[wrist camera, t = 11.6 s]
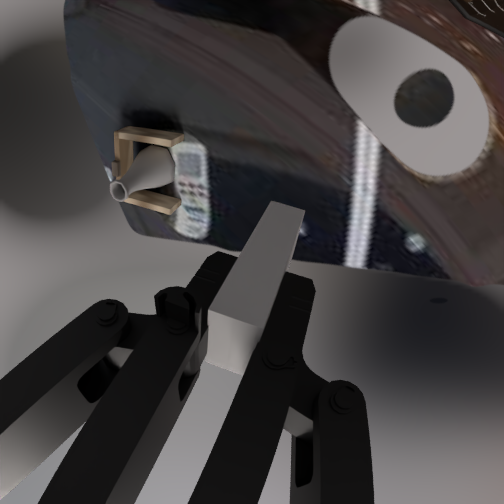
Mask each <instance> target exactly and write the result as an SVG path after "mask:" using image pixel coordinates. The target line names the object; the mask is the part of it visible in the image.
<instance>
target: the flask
mask: <svg viewBox="0 0 504 504" xmlns="http://www.w3.org/2000/svg"><path fill="white" fill-rule="evenodd" d="M174 172H175V164H174V162H173V160H172V158H171V156H170V154H169V152H168V149H166V148H162V147H158V146H155V145H151V146H149V147H147V148H145V149H143V150H142V151H140V152H139V153H138V155H137V157H136V158H135V160H134V162H133V163H132V165H131V166H130V168H129V169H128V171H127V172H126V174H125V175H124V176H123V177H122V178H121V179H119V180H115V181H113V182H111V183H110V193H111V195H112V196H113V198H114V199H115V200H117V201H120V202H122V201H124V200H126V199H128V195H130V194H131V193H132V192H135V191H137V190H143V189H148V188H157V187H162V186H164V185H166V184H169V183H171V182H173V181H174Z"/></svg>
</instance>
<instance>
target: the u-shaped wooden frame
mask: <svg viewBox="0 0 504 504" xmlns="http://www.w3.org/2000/svg"><path fill="white" fill-rule="evenodd" d="M183 140H184V134H181V133H175V132H168V131H162V130H155V129H148V128H140V127H132V126H127V127H124V128H122V129H120V130H117V131H115V132H114V145H115V160H114V161H113V162H112V175H113V176H115V177H116V179H117V180H119V179H121V178H122V177H123V176H124V175H125V174H126V172H127V171H128V169H129V168H130V166H131V165H132V163H133V141H138V142H145V143H151V144H157V145H162V146H168V147H172V146H174V145H176V144H178V143H180V142H182V141H183ZM124 202H128V203H131V204H134V205H138V206H141V207H145V208H148V209H152V210H155V211H159V212H162V213H165V214H169V215H171V214H172V213H173V212H174V211H175V210H176V209H177V208H178V207H179V206H180V205H181V199H178V198H174V197H170V196H166V195H163V194H159V193H155V192H151V191H147V190H137V191H135V192H132V193H131V194H130V195H128V199H126V200H124Z"/></svg>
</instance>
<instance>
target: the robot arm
mask: <svg viewBox="0 0 504 504" xmlns="http://www.w3.org/2000/svg"><path fill="white" fill-rule="evenodd" d="M304 213H305V210H301V209H298V208H295V207H291V206H288V205H284V204H281V203H277V202H274V201H271V202H270V204H269V206H268V207H267V209H266V211H265V212H264V214H263V216H262V218H261V219H260V221H259V223H258V224H257V226H256V228H255V230H254V231H253V233H252V235H251V236H250V238H249V240H248V242H247V243H246V245H245V247H244V248H243V250H242V252H241V254H240V255H239V257H235V256H232V255H229V254H226V253H223V252H219V251H217V252H216V253H214V254H212V255H210V256H209V257H207V258H206V260H205V261H204V263H203V264H202V265H201V267H200V269H199V270H198V271H197V273H196V274H195V276H194V277H193V278H192V280H191V281H190V282H189V284H188V285H187V287H186V288H183V287H179V286H176V287H168V288H165V289H163V290H160V291H159V292H158V293H157V294H156V295H155V296H154V298H155V306H156V314H155V315H144V314H136V313H128V309H127V308H126V307H125V305H124V304H123V303H122V302H120V301H118V300H113V299H106V300H101V301H99V302H97V303H95V304H93V305H92V306H91V307H89V308H88V309H87V310H86V311H84V312H83V313H82V314H80V315H79V316H78V317H76V318H75V319H74V320H73V321H71V322H70V323H69V324H67V325H66V326H65V327H64V328H62V329H61V330H60V331H59V332H58V333H56V334H55V335H54V336H52V337H51V338H50V339H49V340H47V341H46V342H45V343H44V344H42V345H41V346H40V347H39V348H37V349H36V350H35V351H34V352H33V353H31V354H30V355H29V356H28V357H27V358H25V359H24V360H23V361H22V362H21V363H19V364H18V365H17V366H16V367H15V368H14V369H12V370H11V371H10V372H9V373H8V374H7V375H5V376H4V377H3V378H2V379H1V380H0V499H2V498H3V497H4V496H6V495H7V494H8V493H9V492H11V491H12V490H13V489H14V488H15V487H16V486H17V485H18V484H19V483H20V482H21V481H23V480H24V479H25V477H27V476H28V475H29V474H30V473H31V472H32V471H33V470H34V469H35V468H36V467H38V466H39V465H40V464H41V463H42V462H43V461H44V460H45V459H46V458H47V457H48V456H49V455H50V454H52V453H53V452H54V451H55V450H56V449H57V448H58V447H59V446H60V445H61V444H62V443H63V442H64V441H65V440H67V438H69V437H70V436H71V435H72V434H73V433H74V432H75V431H76V430H77V429H78V428H79V427H80V426H81V425H82V424H84V422H86V423H85V424H84V426H83V428H82V429H81V431H80V432H79V434H78V436H77V438H76V439H75V441H74V442H73V444H72V446H71V447H70V449H69V450H68V452H67V454H66V455H65V457H64V459H63V461H62V462H61V464H60V466H59V467H58V469H57V471H56V472H55V474H54V476H53V477H52V479H51V481H50V483H49V485H48V486H47V488H46V490H45V492H44V493H43V495H42V497H41V499H40V501H39V502H38V504H134V503H135V501H136V499H137V497H138V495H139V493H140V491H141V490H142V488H143V486H144V484H145V481H146V480H147V478H148V476H149V474H150V472H151V470H152V468H153V466H154V464H155V462H156V460H157V458H158V456H159V454H160V452H161V450H162V448H163V446H164V444H165V443H166V441H167V439H168V437H169V435H170V433H171V431H172V429H173V427H174V425H175V423H176V421H177V419H178V416H179V415H180V413H181V411H182V409H183V407H184V405H185V403H186V401H187V399H188V397H189V395H190V393H191V391H192V389H193V387H194V385H195V383H196V381H197V379H198V377H199V373H200V366H201V364H202V362H203V360H204V358H205V356H206V362H207V363H210V364H213V365H215V366H218V367H220V368H223V369H226V370H229V371H232V372H234V373H237V374H240V375H243V378H242V380H241V382H240V385H239V387H238V390H237V392H236V394H235V397H234V399H233V402H232V404H231V406H230V409H229V411H228V414H227V416H226V418H225V421H224V423H223V425H222V428H221V430H220V432H219V435H218V437H217V439H216V442H215V444H214V446H213V449H212V451H211V453H210V455H209V458H208V460H207V462H206V465H205V467H204V469H203V471H202V473H201V476H200V478H199V480H198V482H197V485H196V487H195V489H194V491H193V493H192V495H191V498H190V500H189V502H188V504H258V501H259V498H260V495H261V492H262V490H263V487H264V484H265V482H266V479H267V476H268V473H269V470H270V467H271V464H272V461H273V458H274V455H275V452H276V449H277V446H278V442H279V439H280V436H281V433H282V430H283V429H285V430H286V431H288V432H289V433H291V434H292V445H291V446H292V447H291V482H290V483H291V486H290V504H374V488H373V472H372V458H371V447H370V437H369V427H368V418H367V410H366V402H365V399H364V396H363V393H362V392H361V391H360V390H359V388H358V387H357V386H356V385H354V384H352V383H351V382H348V381H343V380H337V381H331V382H330V383H329V382H328V381H326V380H324V379H322V378H321V377H320V376H318V375H316V374H315V373H314V372H313V371H311V370H310V369H309V367H308V366H307V365H306V363H305V361H304V359H303V354H302V348H303V344H304V339H305V335H306V331H307V327H308V323H309V319H310V313H311V310H312V305H313V301H314V296H315V292H316V291H315V287H314V284H313V281H312V279H309V278H306V277H302V276H299V275H296V274H293V273H289V272H287V271H288V268H289V265H290V262H291V259H292V256H293V252H294V249H295V245H296V242H297V238H298V235H299V231H300V227H301V224H302V220H303V217H304Z"/></svg>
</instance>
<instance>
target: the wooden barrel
mask: <svg viewBox="0 0 504 504" xmlns="http://www.w3.org/2000/svg"><path fill="white" fill-rule="evenodd" d="M449 1H450V2H451V3H452V4H453V5H454V6H455V7H456V9H457V10H458V11H459V12H460V13H461V14H462V15H463V17H464V18H466V19H468V20H470V21H472V22H474V23H476V24H478V25H480V26H482V27H484V28H486V29H488V30H490V31H492V32H494V33H496V34H498V35H499V36H501V37H503V38H504V0H449Z"/></svg>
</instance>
